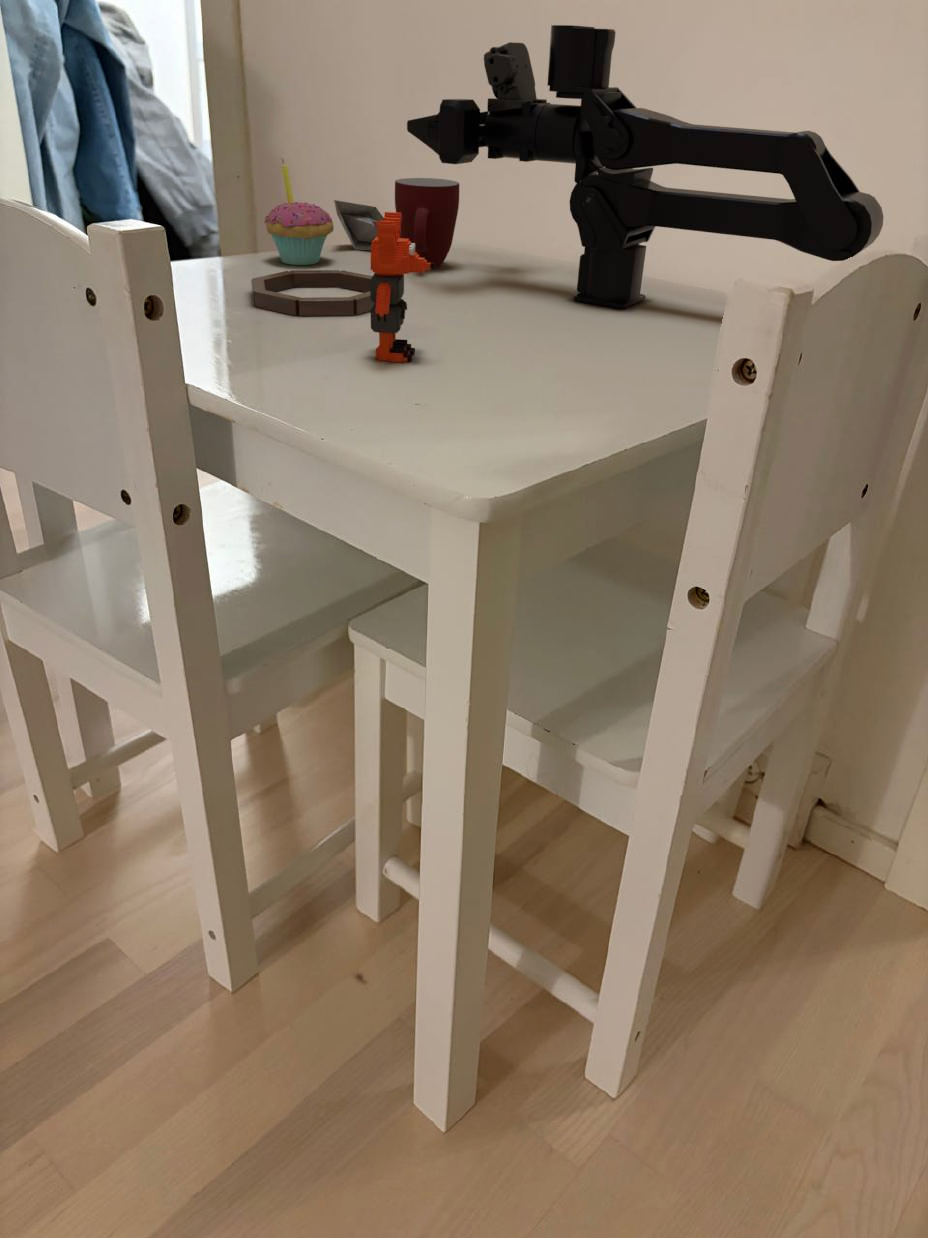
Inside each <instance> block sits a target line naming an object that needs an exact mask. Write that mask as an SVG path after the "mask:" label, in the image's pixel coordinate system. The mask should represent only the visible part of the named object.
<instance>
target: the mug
mask: <svg viewBox="0 0 928 1238" xmlns="http://www.w3.org/2000/svg"><path fill="white" fill-rule="evenodd" d="M459 207H460V182H458V181H456V180H451V179H445V178H434V177H406V178H399V179H396V180H394V209H395V212H396V213H401V215H402V218H401V231H400V238H405V239H409V241H411V243H415V252H417V254H419V257H421V258H425V260H427V263H435V268H431V269H430V270H436V269H439V268H441V267H442V266H443V264H444V262H445V260H446V258H447V256H448V254H449V252H450V249H451V247H452V245H453V239H454V235H455V229H456V224H457V220H458V219H457V218H458V214H459Z"/></svg>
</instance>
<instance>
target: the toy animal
mask: <svg viewBox="0 0 928 1238" xmlns="http://www.w3.org/2000/svg"><path fill="white" fill-rule="evenodd" d="M383 218H384V220H383V221H377V224H376V226H377V237H376V238H375V239H374V240H373V241H372V244H371V250H370V271H372V273H373V275H371V276H372V278H371V281H370V299H371V300H372V301H373V303H374V305H373V306H372V308H371V311H370V330H372V332H373V333H378V337H379V338H378V346H377V347H376V348H375V360H379V361H388V362H389V361H390V362H392V363H405V362H406V363H407V362H408V363H411V362H412V360H413V356H415V353H416V348H415V347H412V343H408V339H399V338H398V339H397V338H396V335H397V334H398V332H400V331H401V327H402V326H403V324H404V320H405V319H406V311H407V310H408V303H407V301H405V299H403V296H404V294H405V275H409V274H418V273H425V271H431V270H432V269H431V268H435V263H427V260H425V258H421V257H419V254H417V252H415V243H411V241H409V239H405V238H400V231H401V218H402V215H401V213H396V211H393V212H392V211H384V215H383ZM435 269H436V268H435Z"/></svg>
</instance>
